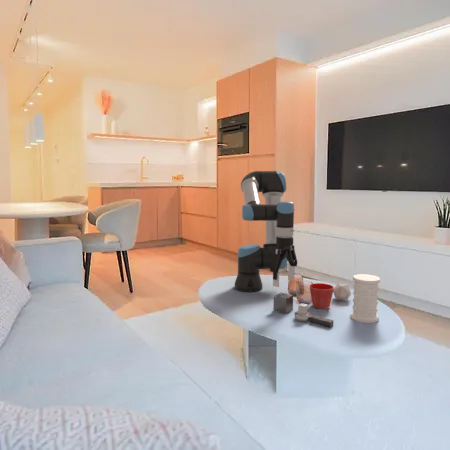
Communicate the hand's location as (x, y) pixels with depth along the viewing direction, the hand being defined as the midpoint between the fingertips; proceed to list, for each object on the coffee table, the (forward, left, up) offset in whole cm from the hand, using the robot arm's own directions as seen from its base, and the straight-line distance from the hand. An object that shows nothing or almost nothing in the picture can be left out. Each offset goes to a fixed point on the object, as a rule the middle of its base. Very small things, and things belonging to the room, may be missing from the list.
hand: (283, 283), depth 174 cm
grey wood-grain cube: (0, 0, -13) cm, 13 cm away
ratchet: (+17, -4, -13) cm, 21 cm away
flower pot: (+11, +16, -13) cm, 23 cm away
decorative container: (+32, +14, -13) cm, 37 cm away
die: (+15, +31, -13) cm, 37 cm away
